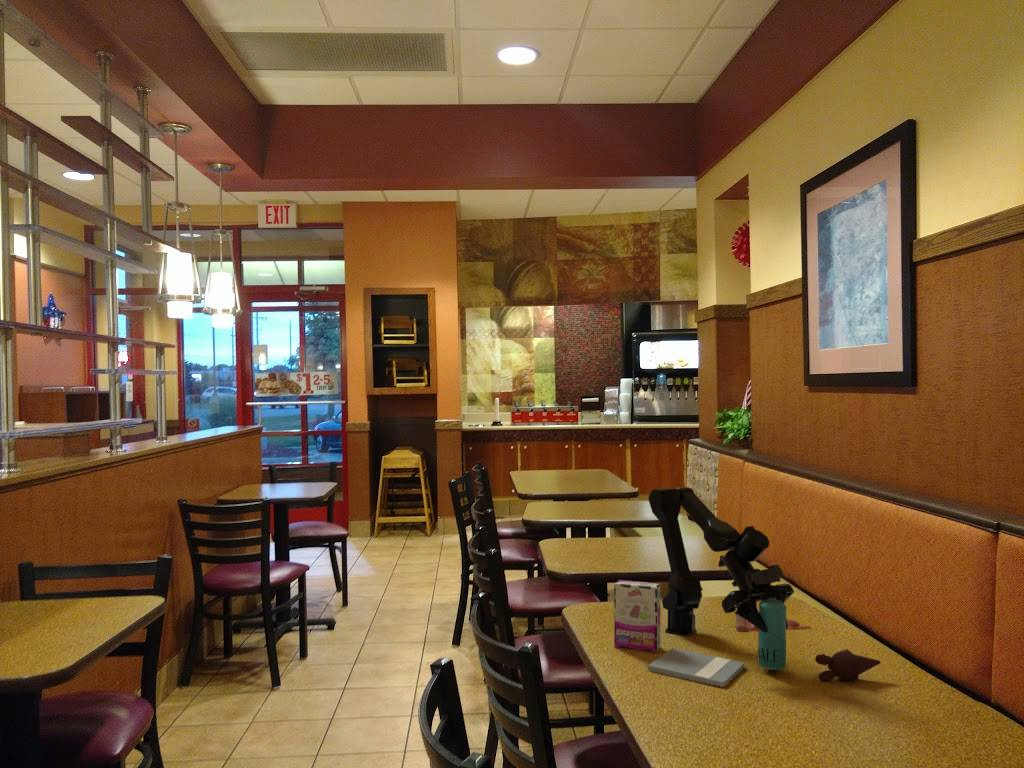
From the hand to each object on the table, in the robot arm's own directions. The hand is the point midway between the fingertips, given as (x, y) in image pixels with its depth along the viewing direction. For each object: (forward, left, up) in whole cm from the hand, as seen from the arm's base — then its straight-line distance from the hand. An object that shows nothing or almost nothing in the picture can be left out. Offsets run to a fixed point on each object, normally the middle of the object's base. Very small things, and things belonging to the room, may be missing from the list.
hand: (776, 630), depth 180 cm
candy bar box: (-34, -2, -10) cm, 36 cm away
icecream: (+14, +6, -10) cm, 19 cm away
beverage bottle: (-1, +1, -10) cm, 10 cm away
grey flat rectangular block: (-16, -8, -10) cm, 21 cm away
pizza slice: (-11, +38, -11) cm, 41 cm away
